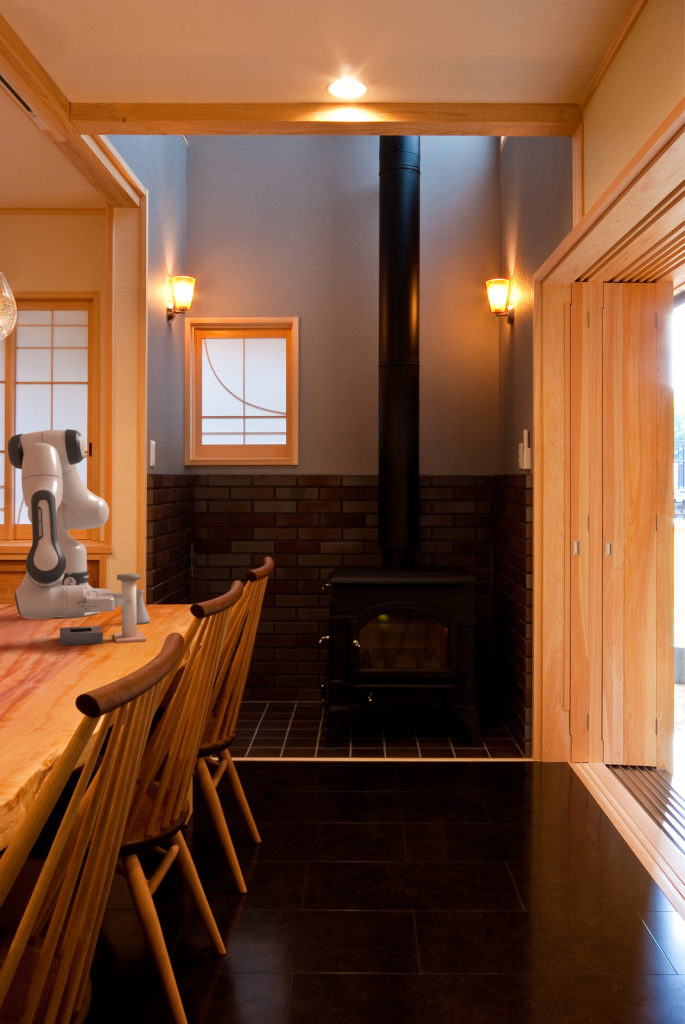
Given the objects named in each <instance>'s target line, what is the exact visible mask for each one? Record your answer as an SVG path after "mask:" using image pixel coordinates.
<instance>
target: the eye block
mask: <svg viewBox="0 0 685 1024" xmlns="http://www.w3.org/2000/svg"><path fill="white" fill-rule="evenodd" d="M103 635H104V633H103V629H102V625H88V626H87V625H85V626H70V627H69V626H68V627H67V626H66V627H59V646H62V647H63V646H64V647H65V646H78V645H79V646H81V645H96V644H97V645H98V644H103V643H104V642H103V641H104V639H103V638H104V637H103Z"/></svg>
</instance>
